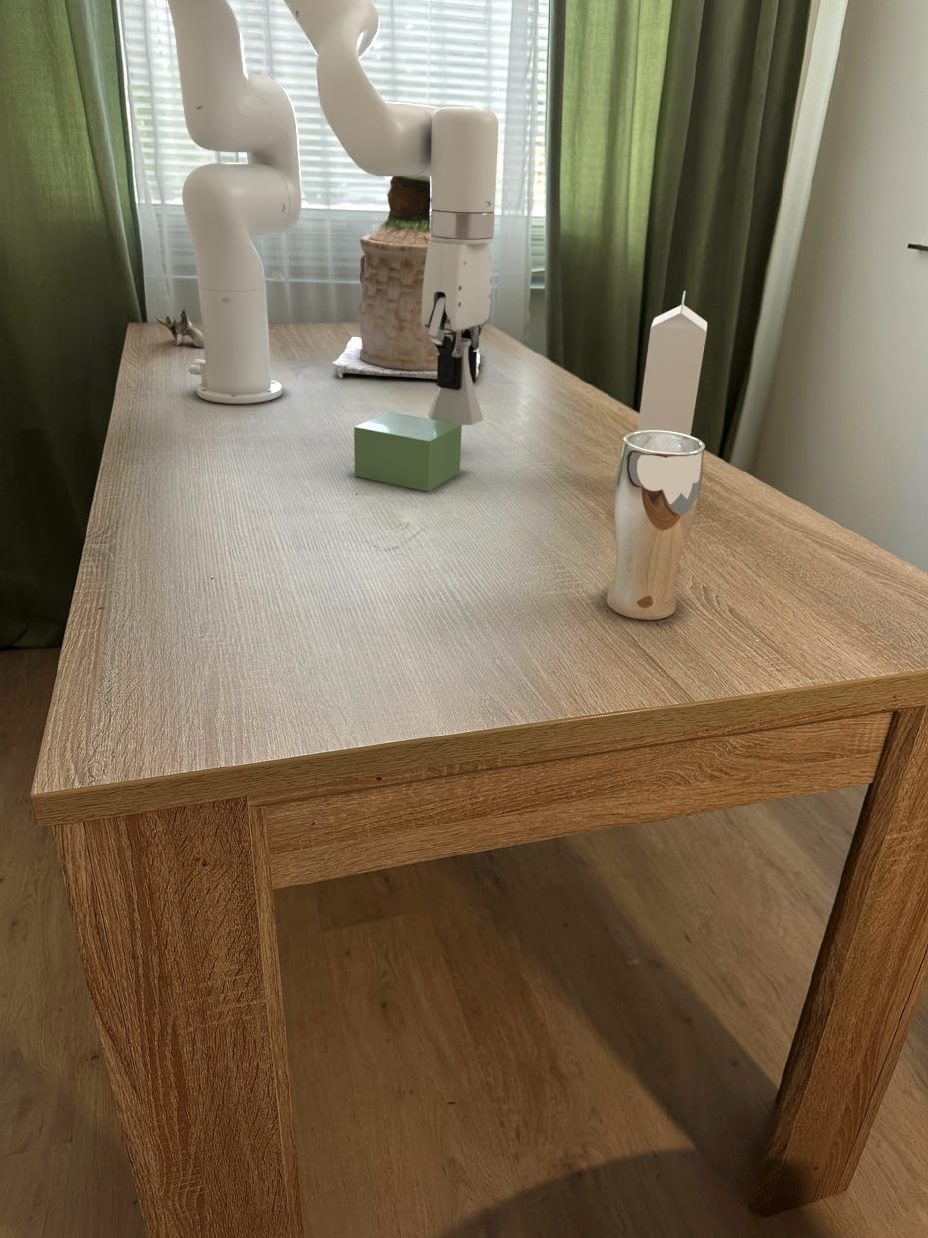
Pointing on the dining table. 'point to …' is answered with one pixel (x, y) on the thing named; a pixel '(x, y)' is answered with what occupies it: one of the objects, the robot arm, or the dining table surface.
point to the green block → (407, 451)
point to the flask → (458, 397)
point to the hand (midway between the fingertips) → (456, 383)
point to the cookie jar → (395, 291)
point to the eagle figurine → (183, 329)
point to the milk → (672, 371)
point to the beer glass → (653, 519)
